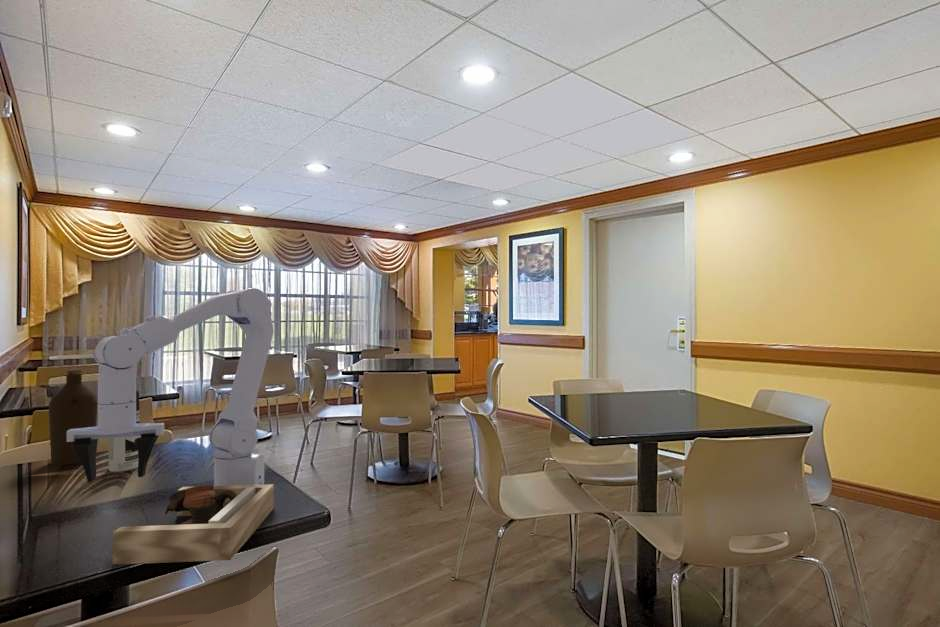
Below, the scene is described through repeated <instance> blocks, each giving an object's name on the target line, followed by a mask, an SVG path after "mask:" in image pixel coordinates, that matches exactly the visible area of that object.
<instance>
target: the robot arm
mask: <svg viewBox="0 0 940 627" xmlns="http://www.w3.org/2000/svg"><path fill="white" fill-rule="evenodd" d="M267 296H268V295H266V293H265V292H264V291H262V290H261V289H260V288H256V287H252V288H247V289H239V290H237V289H233V290H232V289H231V290H228V291H226V292H225V293H219V294H216V295H214V296H211V297H208V298H207V299H205V300H203V301H200V302H199V303H197V304H195V305H193V306H191V307H189V308H187V309H184V311H183V310H182V312H179V313H177V314H175V315H173V316H171V317H168V316H167V315H162V314H159V315H158V316H156V315H153V314H152V315H149V316H147V317H145V320H146V321H144V322H142V323H139V324H137V325H135V326H133V327H131V328H128V327H123V328H122V329H120V330H119V332H120V334H119V335H112V336H111V335H110V336H106V337H104V338H103V339H101V340H100V341H98V344H96V346H95V349H94V350H93V351H92V356H93V358H94V360H95V362H96V363H97V364H98V377H97V402H98V407H97V425H96V427H87V428H77V429H70V430H68V431H67V442H73V441H74V444H73V445H72V449H73V451H74V452H75V453H76V455H77V456H78V458H79V459H80V461H81V465H82V468H83V471H84V473H85V477H86V482H87V483H91V482H94V480H96V479H97V460H96V459H97V449H98V443H99V440H100V439H101V440H102V439H108V438H118V437H132V436H140V438H139V439H137V447H138V468H137V477H138V478H143V477H145V475H146V472H147V466H148V463H149V459H150V456H151V453H152V450H153V448H154V446H155V445H156V442H157V440H158V438H159V436H162V435H163V434H165V422H149V423H148V422H147V423H141V422H140V423H136V390H137V375H136V374H137V372H136V370H137V367H136V366H137V364H138V363H139V362H140V361H141V358H143V357H146V356H148V355H150V354H152V353H155V352H157V351H159V350H160V349H163V348H164V347H167V346H169V345H171V344H173V343H175V342H177V339H178V338H179V336H180V333H181V332H182V331H185V330H187V329H190V328H192V327H193V326H196V325H198V324H201V323H204V322H205V321H208V320H210V319H212V318H214V317H217V316H226V317H227V318H229V319H230V320H231V321H232V322H234V323H235V324H237V325H238V327H239V328H240V329H241V330H242V331H243V334H244V335H245V337H244V342H243V345H242V348H241V352H240V355H239V356H240V357H239V359H238V364H237V367H236V371H235V375H234V379H233V383H232V386H231V389H230V393H229V397H228V400H227V401H228V402H227V404H226V406H225V408H224V409H223V410H222V411H221V412H220V413H219V415H218V418H217V421H216V423H215V424H214V425H213V426H212V427H211V429H210V432H209V435H208V440H209V444H210V445H211V446H212V447H213V448H214V454H213V461H214V462H213V486H230V485H265V459H264V456H263V454H260V453H254V452H252V451H253V450H254V449H255V448H256V446H257V443H258V437H259V436H258V430H257V428H258V418H257V416H256V414H255V412H254V411H255V406H256V402H257V399H258V396H259V395H258V394H259V391H260V386H261V383H262V379H263V376H264V371H265V369H266V368H265V367H266V364H267V360H268V356H269V352H270V348H271V344H272V341H273V336H274V332H275V331H274V325H273V319H272V314H271V308H272V302H271V301H270V299H269V298H268V297H267ZM121 433H128V434H121ZM111 434H113V435H111Z"/></svg>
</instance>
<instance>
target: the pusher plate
mask: <svg viewBox="0 0 940 627" xmlns="http://www.w3.org/2000/svg"><path fill="white" fill-rule="evenodd" d="M253 496H255V487H247V488H246V489H245V490H244V491H242V492H241V493H240V494H239V495H238V496H237V497H235V498H234V499H233V500H232V501H231V502H230V503H229V504H227V505H226V506H225V507H224V508H223V509H222V510H221V511H219V512H218V513H217V514H216V515H215V516H214V517H213V518H211V519H210V520H209V524H216V523H226V522H227V521H228V520H229V519H230V518H231V517H233V516H234V515H235V514H236V513H237V512H238V511H239V510H240V509H241V508H242V507H243V506H244V505H245V504H246V503H247V502H248V501H249V500H250V499H251V498H252V497H253Z"/></svg>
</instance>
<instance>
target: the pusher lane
mask: <svg viewBox="0 0 940 627" xmlns="http://www.w3.org/2000/svg"><path fill="white" fill-rule="evenodd" d="M274 484H275V483H273V484H267V483H266V484H264V485H230V486H214V485H213V487H214V491H215V492H217V493H218V492H222V491H225V490H231V491H233V492H235V493H236V494H237V495H236V497H237V496H238V495H239V494H240V493H241V492H242V491H244V490H245V489H246V488H247V487H255V496H253V497H252V498H251V499H250V500H249V501H248V502H247V503H246V504H245V505H244V506H243V507H242V508H241V509H240V510H239V511H238V512H237V513H236V514H235V515H234V516H233V517H231V518H230V519H229V520H228V521H227V522H226V523H216V524H186V525H181V524H163V525H162V524H161V525H160V524H159V525H133V526H132V525H131V526H130V525H129V526H120V527H118V528H117V529H115V530H114V531H112V566H113V565H136V564H160V563H162V564H164V563H165V564H166V563H185V562H187V563H188V562H215V561H217V562H218V561H230V560H231V559H232V558H234V556H235V555H236V554H237V553H238V552H239V550H241V548H242V547H243V546H244V545H245V543H246V542H247V541H248V540H249V539H250V538H251V537H252V536H253V534H254V533H255V532H256V530H257V529H258V528H259V527H260V526H261V524H262V523H263V522H264V520H266V518H267V517H268V516H269V515H270V513H271V512H272V511H273V509H275V502H274V501H275V491H274V490H275V485H274ZM191 487H192V486H182V487H181V488H178V489H177V492H178V491H181V490H184V489H188V488H191ZM212 502H213V503H215V498H214V499H212ZM229 502H230V499H229V498H226V499H225V501H224V503H223V507H225V506H226V505H227V504H229ZM176 513H177V515H176V516H177V517H192V516H191V513H190V511H180V512H176Z"/></svg>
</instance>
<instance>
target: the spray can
mask: <svg viewBox="0 0 940 627" xmlns="http://www.w3.org/2000/svg"><path fill="white" fill-rule="evenodd" d="M140 419H141V418H140V391H139V390H137V389H136V423H141V422H140ZM121 434H128V433H121ZM111 435H113V434H111ZM139 438H141V436H132V437H118V438H107V439H108V440H107V441H108V444H107V445H108V451H107V452H108V456H107V457H108V462H107V463H108V471H109V472H111V473H120V472H121V473H122V472H127V471H132V470H135V469H138V447H137V439H139Z"/></svg>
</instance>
